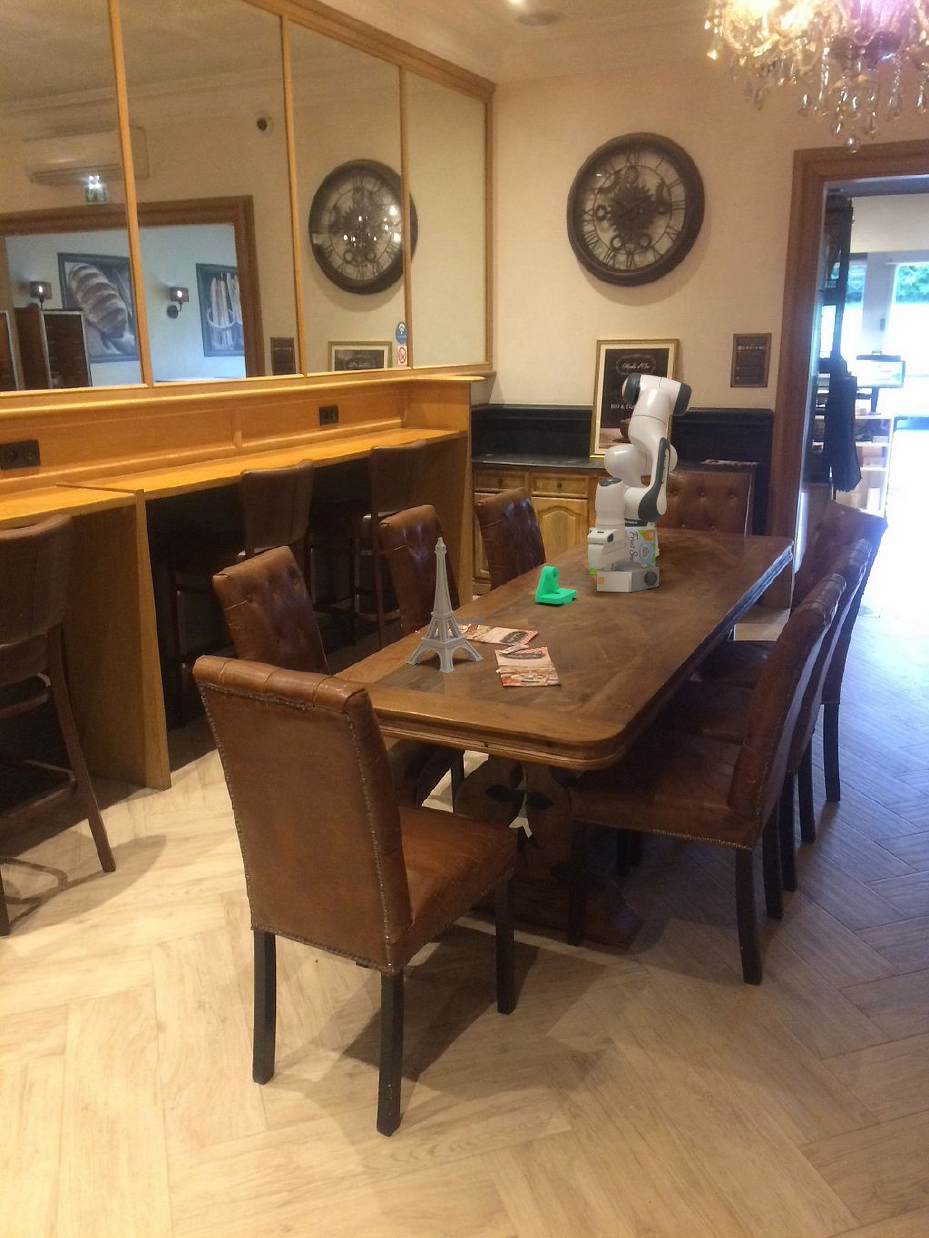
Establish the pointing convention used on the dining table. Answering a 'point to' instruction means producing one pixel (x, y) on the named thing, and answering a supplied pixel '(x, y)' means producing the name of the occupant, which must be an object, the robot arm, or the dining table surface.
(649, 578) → the camera case
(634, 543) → the snack box
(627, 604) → the dining table surface
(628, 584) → the side door
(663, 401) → the robot arm
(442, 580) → the eiffel tower
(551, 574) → the camera mount
